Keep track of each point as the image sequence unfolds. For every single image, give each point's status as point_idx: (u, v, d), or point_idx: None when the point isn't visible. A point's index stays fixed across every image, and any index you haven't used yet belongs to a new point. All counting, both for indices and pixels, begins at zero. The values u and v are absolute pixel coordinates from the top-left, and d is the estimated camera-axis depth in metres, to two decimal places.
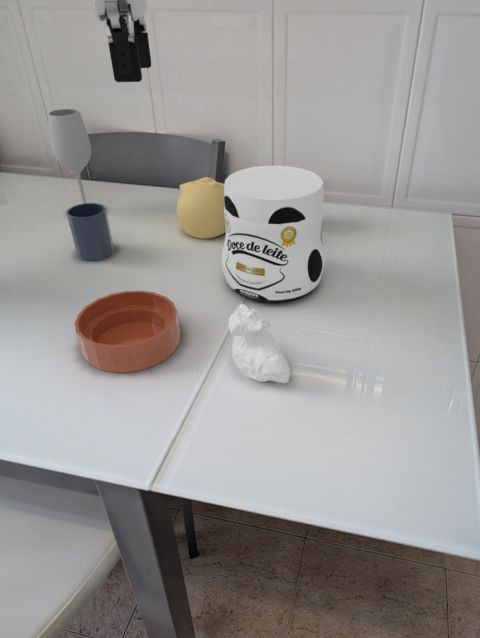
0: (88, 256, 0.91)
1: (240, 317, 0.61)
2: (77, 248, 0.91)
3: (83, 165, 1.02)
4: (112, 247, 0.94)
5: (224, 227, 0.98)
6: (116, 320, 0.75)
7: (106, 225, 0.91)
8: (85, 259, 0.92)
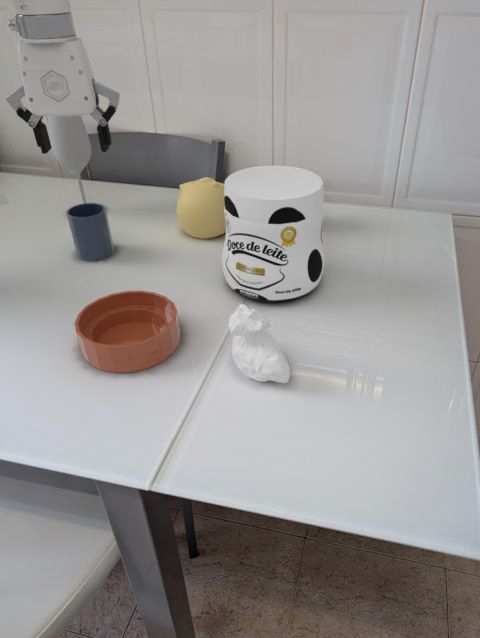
0: (88, 256, 0.91)
1: (240, 317, 0.61)
2: (77, 248, 0.91)
3: (83, 165, 1.02)
4: (112, 247, 0.94)
5: (224, 227, 0.98)
6: (116, 320, 0.75)
7: (106, 225, 0.91)
8: (85, 259, 0.92)
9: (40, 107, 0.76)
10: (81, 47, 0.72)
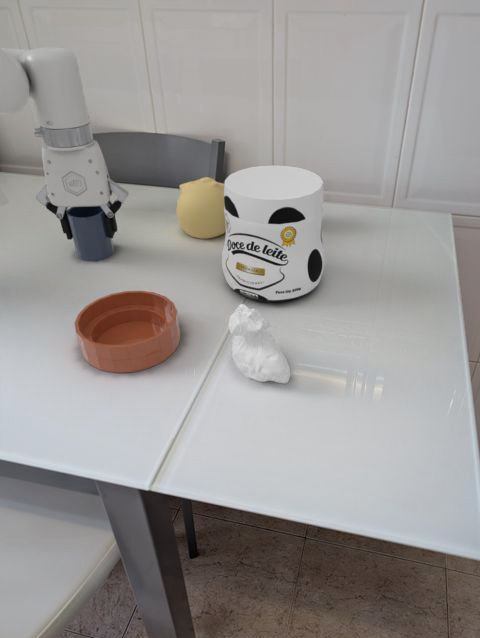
0: (88, 256, 0.91)
1: (240, 317, 0.61)
2: (77, 248, 0.91)
3: None
4: (112, 247, 0.94)
5: (224, 227, 0.98)
6: (116, 320, 0.75)
7: None
8: (85, 259, 0.92)
9: (60, 200, 0.85)
10: (98, 151, 0.82)
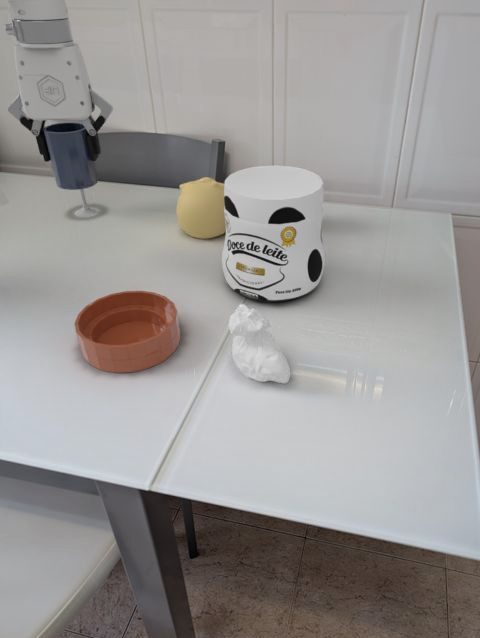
0: (68, 180, 0.82)
1: (240, 317, 0.61)
2: (55, 171, 0.82)
3: None
4: (95, 173, 0.85)
5: (224, 227, 0.98)
6: (116, 320, 0.75)
7: None
8: (64, 184, 0.83)
9: (36, 111, 0.76)
10: (78, 53, 0.73)
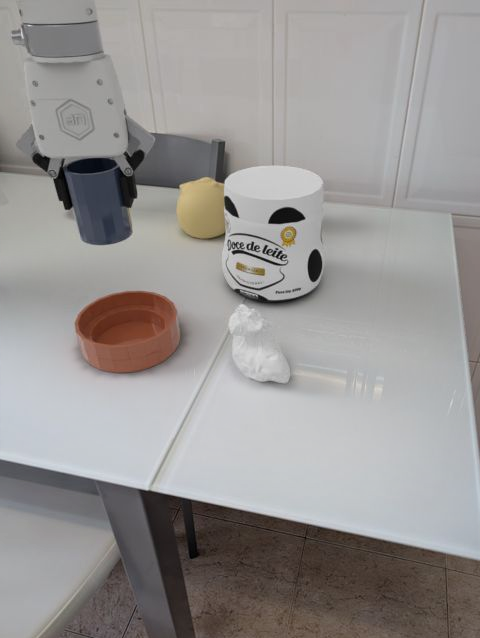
0: (95, 234, 0.62)
1: (240, 317, 0.61)
2: (79, 222, 0.62)
3: None
4: (130, 222, 0.65)
5: (224, 227, 0.98)
6: (116, 320, 0.75)
7: None
8: (91, 239, 0.63)
9: (54, 147, 0.56)
10: (111, 68, 0.53)
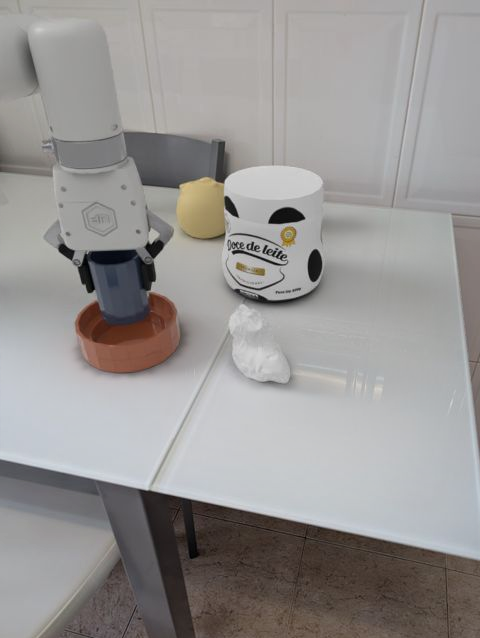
0: (116, 316, 0.66)
1: (240, 317, 0.61)
2: (101, 305, 0.66)
3: None
4: (148, 301, 0.68)
5: (224, 227, 0.98)
6: None
7: None
8: (112, 320, 0.66)
9: (79, 242, 0.59)
10: (134, 173, 0.56)
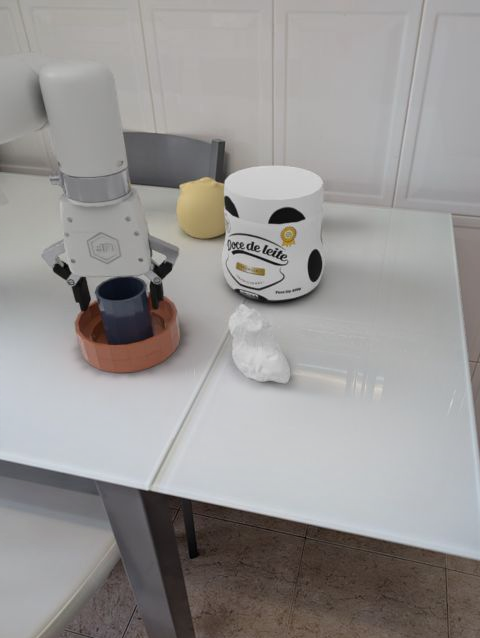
0: None
1: (240, 317, 0.61)
2: (108, 336, 0.69)
3: None
4: (153, 332, 0.71)
5: (224, 227, 0.98)
6: None
7: (147, 307, 0.68)
8: None
9: (83, 269, 0.62)
10: (138, 205, 0.59)
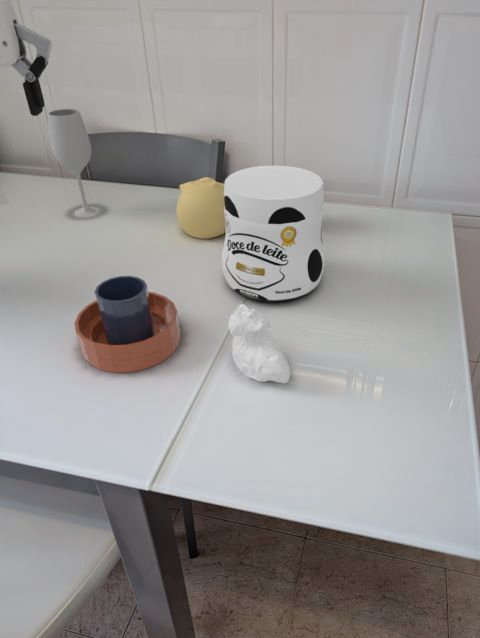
0: None
1: (240, 317, 0.61)
2: (108, 336, 0.69)
3: (83, 165, 1.02)
4: (153, 332, 0.71)
5: (224, 227, 0.98)
6: None
7: (147, 307, 0.68)
8: None
9: None
10: None
